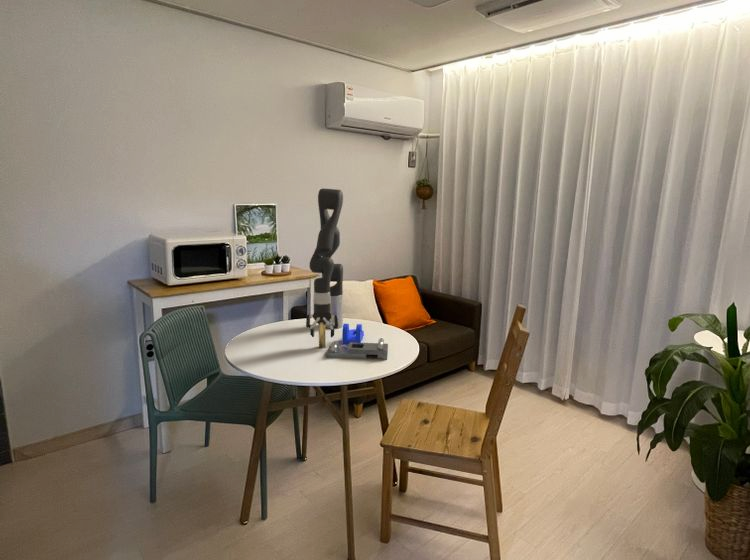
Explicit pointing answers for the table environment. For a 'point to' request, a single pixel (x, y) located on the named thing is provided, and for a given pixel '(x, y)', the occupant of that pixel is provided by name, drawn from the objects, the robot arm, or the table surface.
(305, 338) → the table surface
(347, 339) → the bracket
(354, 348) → the grey plate with pins
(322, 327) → the pin
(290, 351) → the table surface
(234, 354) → the table surface
